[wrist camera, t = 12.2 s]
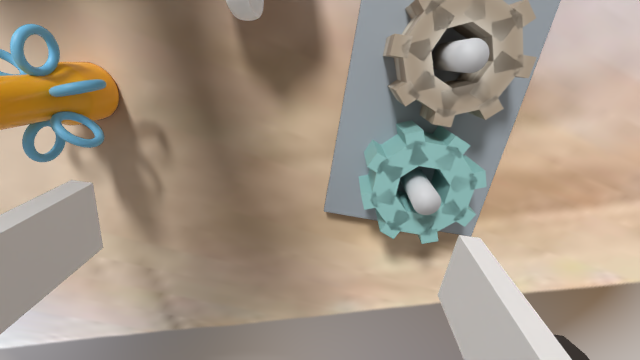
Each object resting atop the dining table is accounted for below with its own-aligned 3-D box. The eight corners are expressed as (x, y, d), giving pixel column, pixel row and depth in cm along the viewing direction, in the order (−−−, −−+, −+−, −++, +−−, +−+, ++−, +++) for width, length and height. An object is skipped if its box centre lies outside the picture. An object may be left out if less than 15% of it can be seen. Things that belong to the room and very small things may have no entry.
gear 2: (371, 113, 32) (376, 122, 27) (479, 131, 32) (502, 143, 27) (351, 209, 36) (352, 232, 31) (447, 225, 36) (462, 250, 31)
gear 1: (375, 9, 29) (381, -1, 24) (502, -27, 27) (535, -45, 22) (394, 126, 32) (402, 137, 28) (507, 101, 31) (537, 108, 26)
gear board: (366, -28, 29) (375, -62, 21) (550, 2, 29) (629, -20, 21) (324, 205, 38) (319, 244, 30) (466, 229, 37) (499, 275, 30)
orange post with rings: (165, 97, 34) (44, 123, 20) (116, 161, 37) (-20, 221, 23) (67, 8, 32) (-149, -33, 18) (23, 84, 35) (-191, 100, 21)
